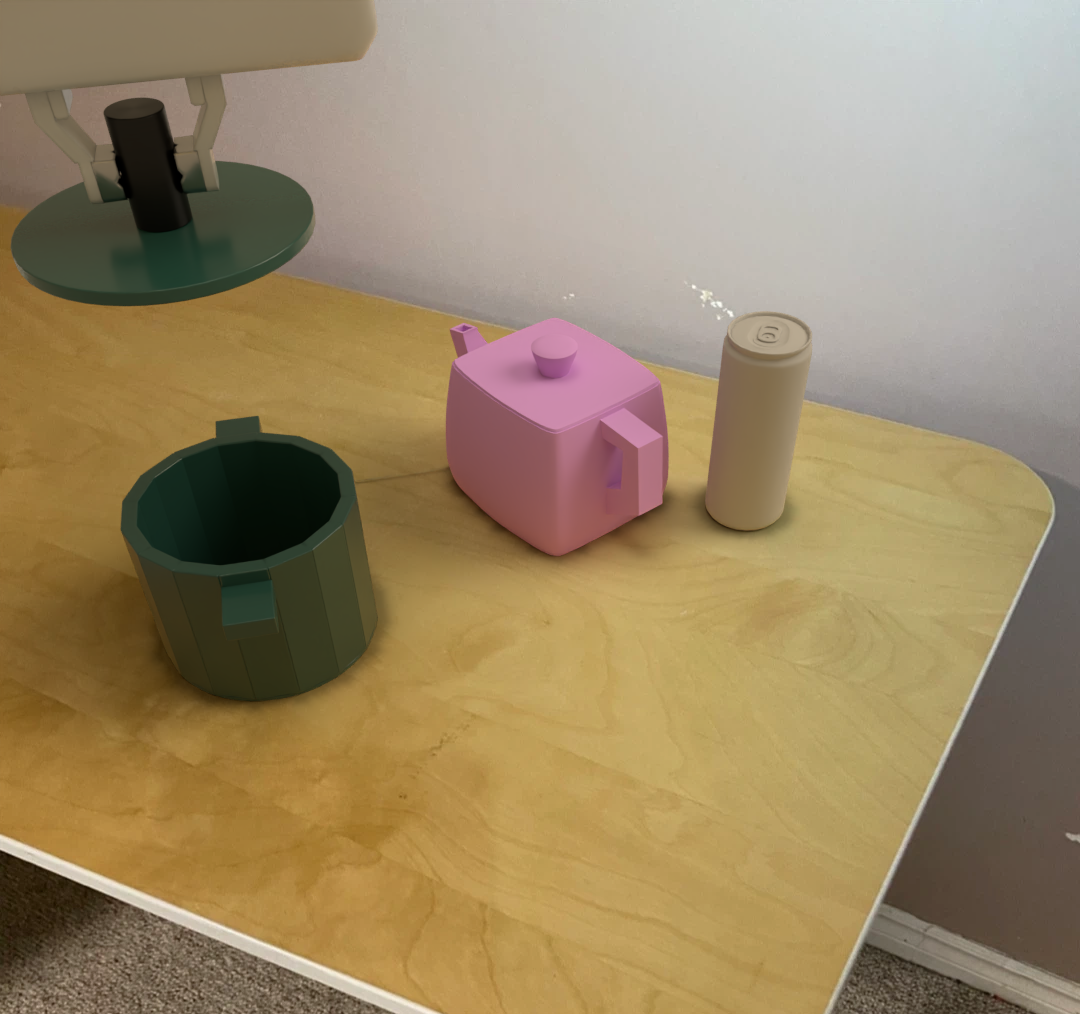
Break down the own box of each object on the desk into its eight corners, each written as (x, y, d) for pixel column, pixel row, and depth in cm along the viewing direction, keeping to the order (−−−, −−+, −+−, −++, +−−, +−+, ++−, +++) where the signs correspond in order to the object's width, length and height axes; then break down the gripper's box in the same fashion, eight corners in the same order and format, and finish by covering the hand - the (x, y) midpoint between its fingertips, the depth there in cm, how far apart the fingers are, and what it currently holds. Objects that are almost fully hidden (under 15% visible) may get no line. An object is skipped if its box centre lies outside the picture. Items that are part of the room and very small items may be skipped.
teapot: (403, 457, 74) (384, 311, 66) (528, 399, 78) (524, 256, 70) (580, 597, 64) (581, 446, 56) (711, 523, 68) (729, 373, 61)
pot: (167, 759, 56) (113, 630, 50) (170, 549, 68) (126, 420, 61) (395, 721, 58) (372, 591, 51) (361, 521, 69) (339, 393, 62)
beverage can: (695, 527, 68) (715, 347, 59) (713, 482, 71) (735, 304, 62) (774, 542, 67) (806, 361, 58) (789, 495, 70) (822, 316, 61)
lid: (5, 339, 44) (-56, 191, 40) (34, 203, 52) (-14, 69, 48) (329, 298, 46) (304, 153, 41) (307, 173, 54) (284, 41, 50)
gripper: (344, -267, 40) (391, 137, 51) (-260, -230, 38) (-81, 188, 48) (362, -239, 36) (409, 195, 46) (-315, -195, 34) (-107, 254, 44)
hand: (156, 192), depth 47 cm, fingers closed on lid, 2 cm apart
